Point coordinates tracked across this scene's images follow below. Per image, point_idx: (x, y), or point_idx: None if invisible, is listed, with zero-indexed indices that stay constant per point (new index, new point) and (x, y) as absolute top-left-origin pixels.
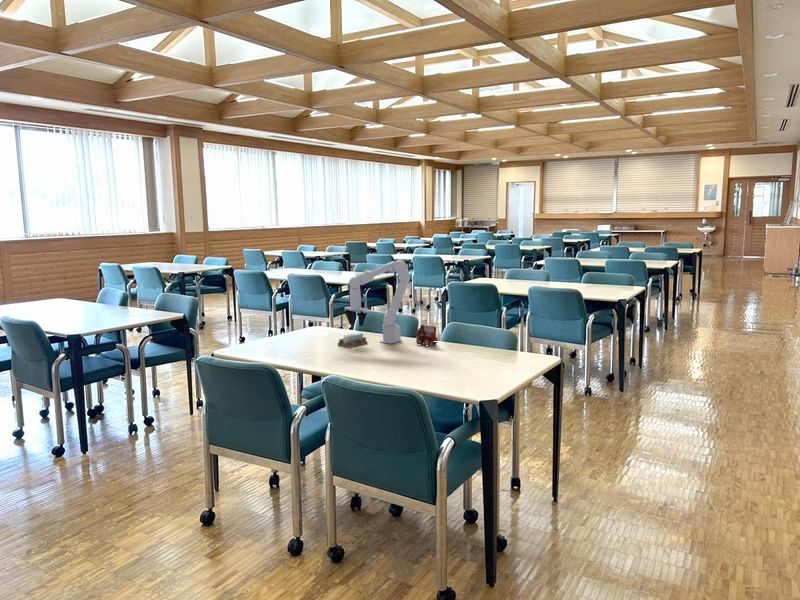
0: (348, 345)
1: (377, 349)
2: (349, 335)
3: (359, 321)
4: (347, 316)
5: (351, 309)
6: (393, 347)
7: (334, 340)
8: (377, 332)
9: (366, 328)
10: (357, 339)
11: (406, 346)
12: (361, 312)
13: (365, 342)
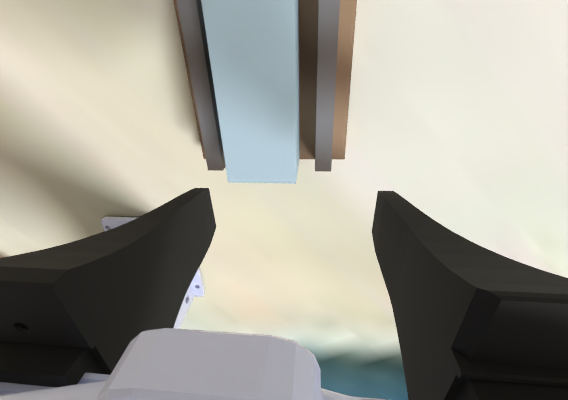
0: None
1: (2, 54)
2: (245, 14)
3: (167, 209)
4: (451, 246)
5: (122, 364)
6: (16, 164)
7: (519, 83)
8: (377, 361)
9: None
10: (188, 63)
11: (9, 218)
12: (29, 354)
13: (201, 137)
